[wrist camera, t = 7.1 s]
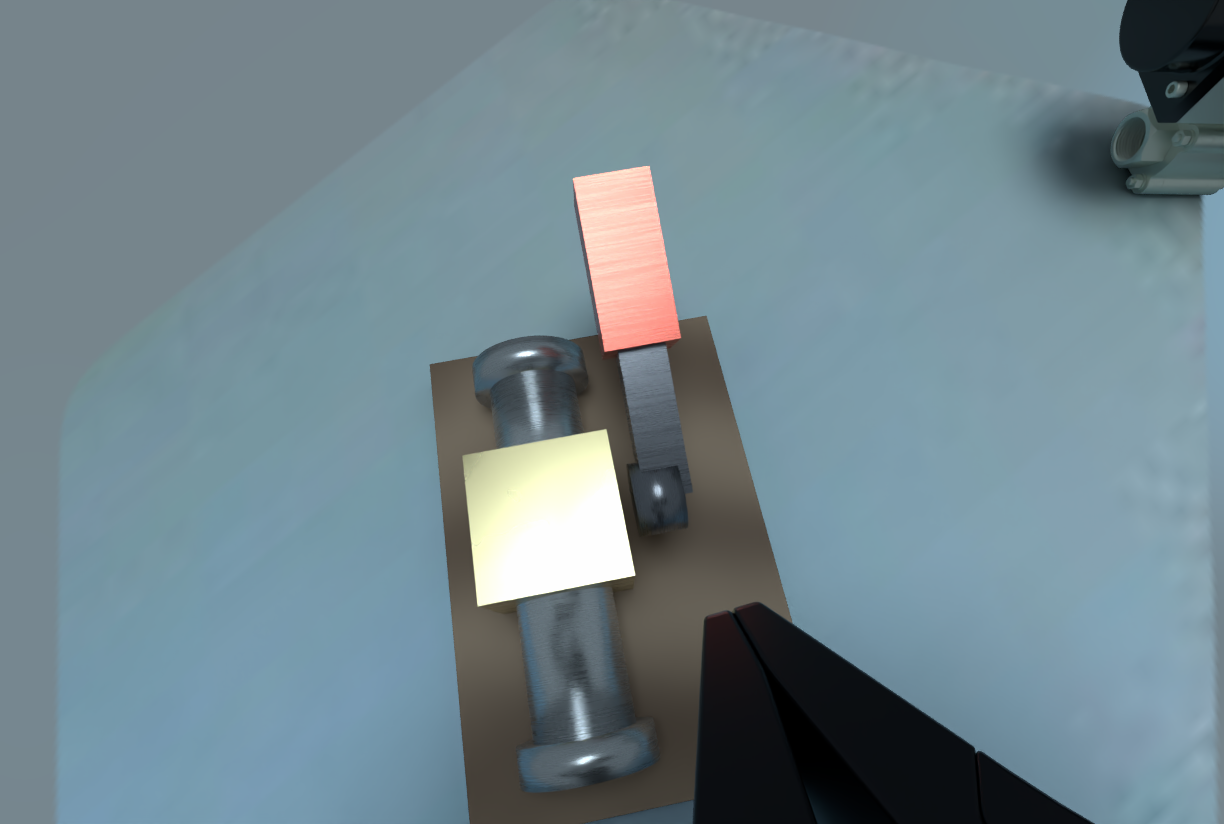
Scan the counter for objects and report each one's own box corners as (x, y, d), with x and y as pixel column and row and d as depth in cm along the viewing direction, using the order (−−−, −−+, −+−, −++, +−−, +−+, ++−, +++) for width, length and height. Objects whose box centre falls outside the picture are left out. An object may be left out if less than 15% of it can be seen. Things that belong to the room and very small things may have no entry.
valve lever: (716, 529, 17) (648, 162, 17) (640, 544, 17) (572, 174, 17) (701, 517, 20) (641, 191, 20) (633, 531, 19) (573, 203, 20)
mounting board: (821, 762, 20) (833, 769, 19) (481, 836, 19) (471, 847, 18) (702, 330, 25) (706, 315, 24) (438, 377, 25) (429, 364, 24)
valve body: (663, 745, 19) (673, 769, 15) (524, 774, 19) (498, 806, 15) (591, 376, 24) (585, 321, 20) (480, 396, 24) (451, 345, 20)
